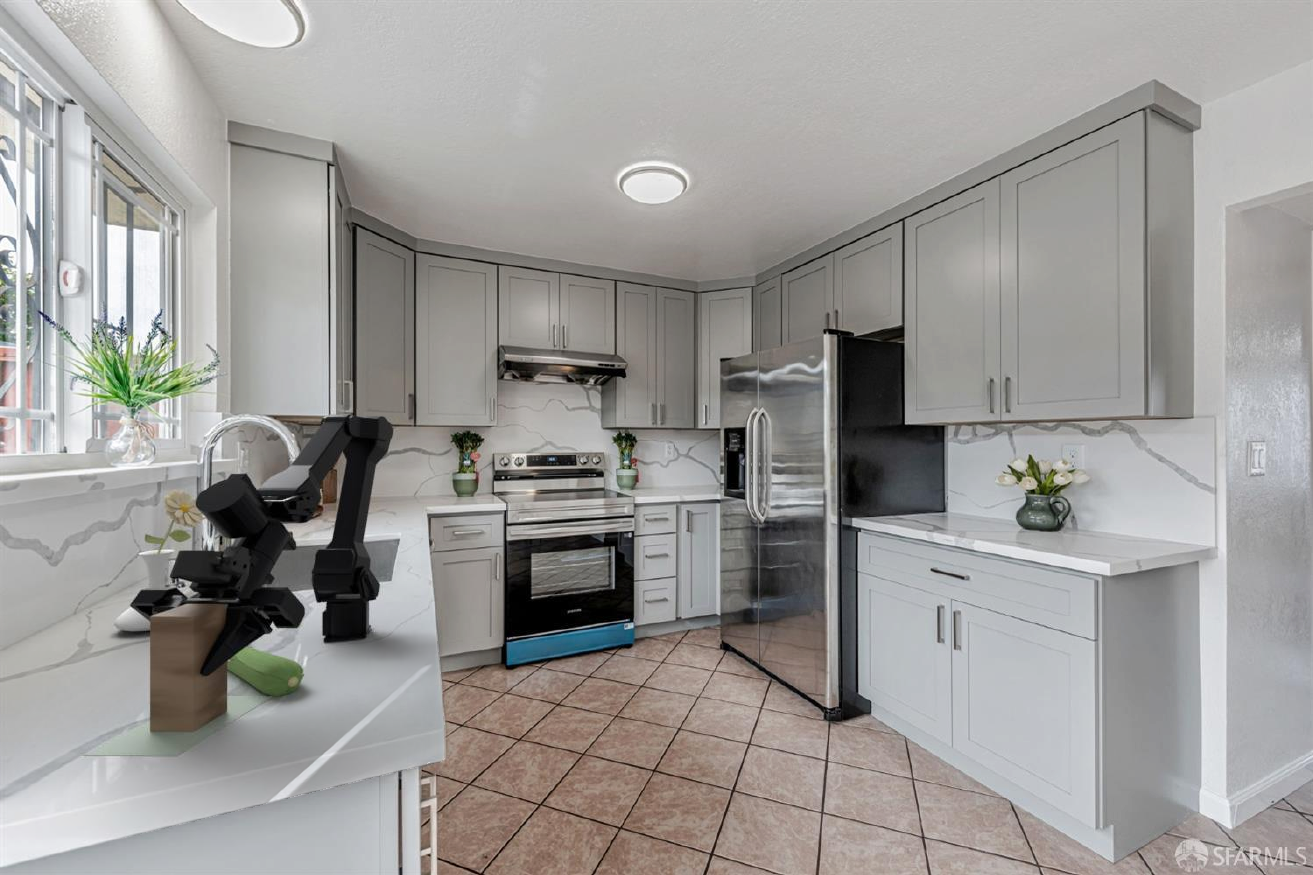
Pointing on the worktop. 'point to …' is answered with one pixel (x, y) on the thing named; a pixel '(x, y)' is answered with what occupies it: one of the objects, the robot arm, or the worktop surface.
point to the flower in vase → (162, 553)
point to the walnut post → (185, 668)
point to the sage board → (175, 733)
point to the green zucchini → (266, 671)
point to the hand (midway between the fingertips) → (180, 674)
